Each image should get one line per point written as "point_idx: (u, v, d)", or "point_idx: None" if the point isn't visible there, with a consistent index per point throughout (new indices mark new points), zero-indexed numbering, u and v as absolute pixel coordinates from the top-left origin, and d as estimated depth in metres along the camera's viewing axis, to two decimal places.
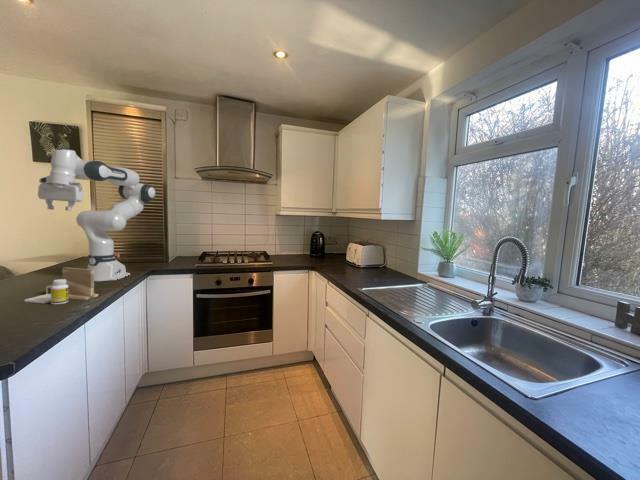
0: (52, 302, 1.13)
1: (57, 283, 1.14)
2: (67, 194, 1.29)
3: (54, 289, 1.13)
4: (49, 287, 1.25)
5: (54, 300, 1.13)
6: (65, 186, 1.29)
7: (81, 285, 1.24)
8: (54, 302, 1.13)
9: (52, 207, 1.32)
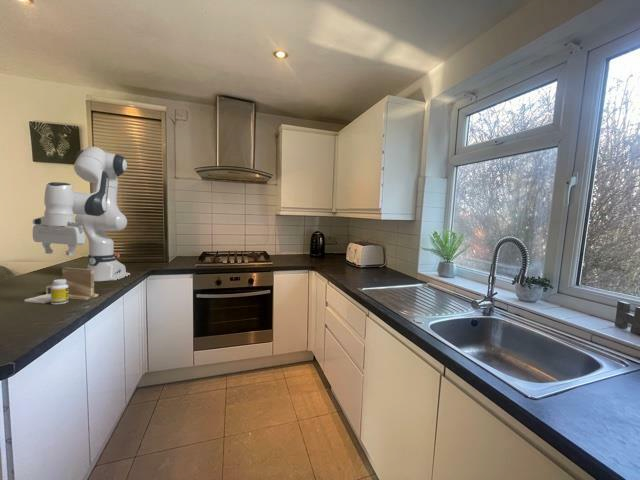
0: (52, 302, 1.13)
1: (57, 283, 1.14)
2: (66, 237, 1.11)
3: (54, 289, 1.13)
4: (49, 287, 1.25)
5: (54, 300, 1.13)
6: (63, 228, 1.11)
7: (81, 285, 1.24)
8: (54, 302, 1.13)
9: (50, 251, 1.15)
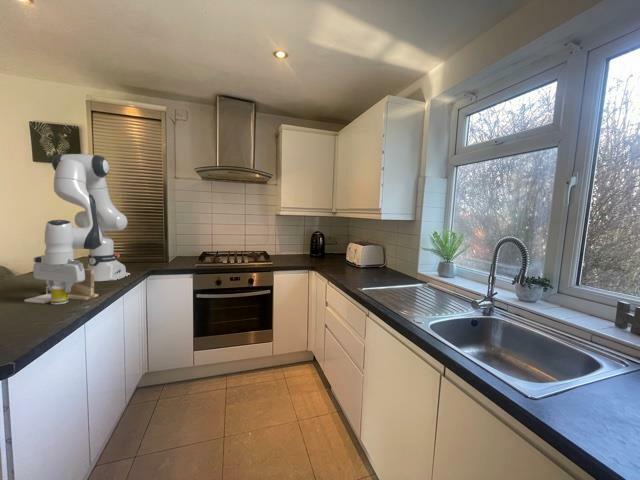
0: (52, 302, 1.13)
1: (57, 283, 1.14)
2: (67, 275, 1.13)
3: (54, 289, 1.13)
4: None
5: (54, 300, 1.13)
6: (63, 266, 1.13)
7: (81, 285, 1.24)
8: (54, 302, 1.13)
9: None
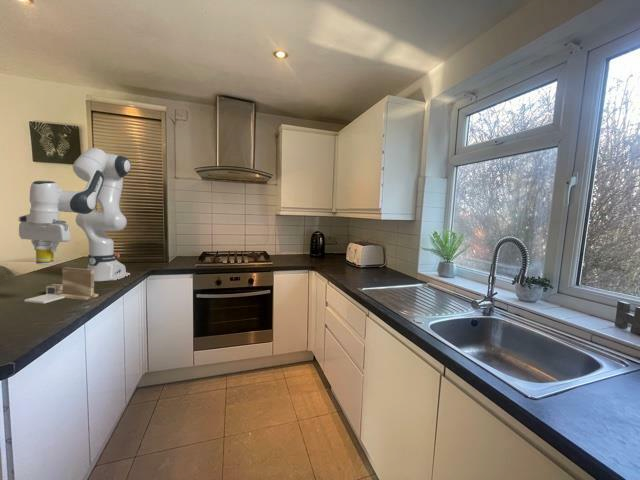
0: (37, 262, 1.15)
1: (42, 243, 1.15)
2: (52, 234, 1.14)
3: (38, 249, 1.14)
4: (49, 287, 1.25)
5: (38, 260, 1.14)
6: (48, 225, 1.14)
7: (81, 285, 1.24)
8: (39, 262, 1.15)
9: None
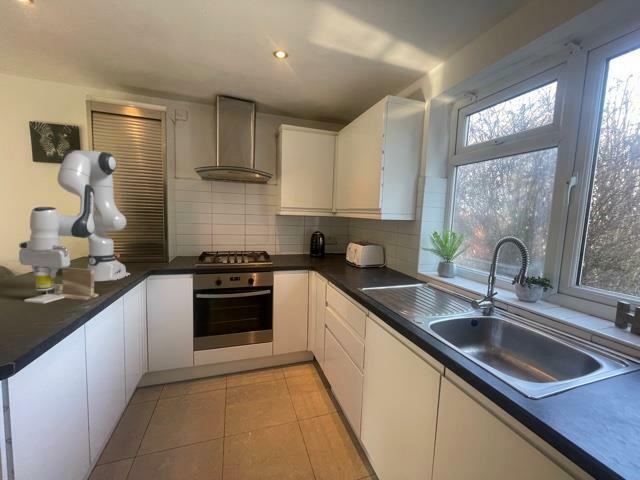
0: (36, 288, 1.15)
1: (42, 269, 1.16)
2: (52, 260, 1.15)
3: (38, 275, 1.15)
4: None
5: (38, 286, 1.15)
6: (49, 251, 1.15)
7: (81, 285, 1.24)
8: (39, 288, 1.15)
9: None
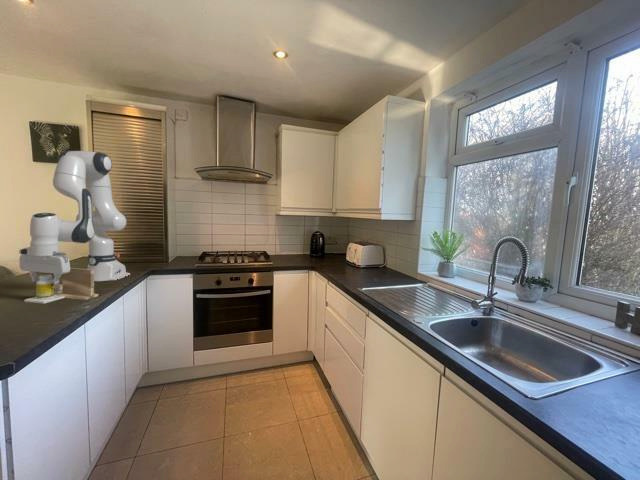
0: (37, 297, 1.16)
1: (42, 278, 1.16)
2: (52, 266, 1.15)
3: (39, 284, 1.15)
4: None
5: (39, 295, 1.16)
6: (49, 257, 1.15)
7: (81, 285, 1.24)
8: (39, 297, 1.16)
9: (37, 279, 1.19)
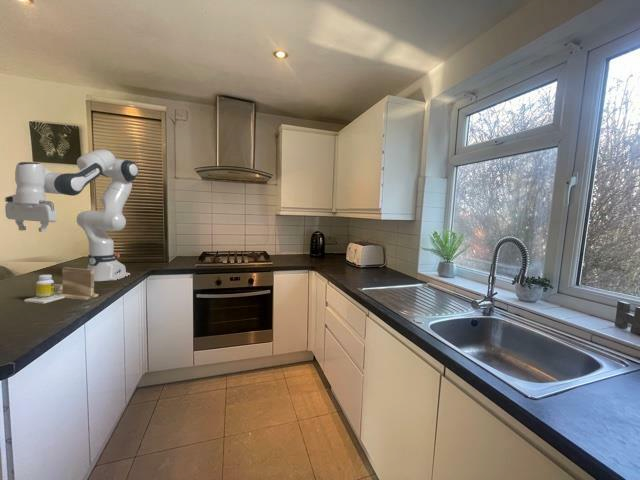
0: (37, 297, 1.16)
1: (42, 278, 1.16)
2: (38, 214, 1.17)
3: (39, 284, 1.15)
4: None
5: (39, 295, 1.16)
6: (35, 205, 1.17)
7: (81, 285, 1.24)
8: (39, 297, 1.16)
9: (24, 228, 1.20)
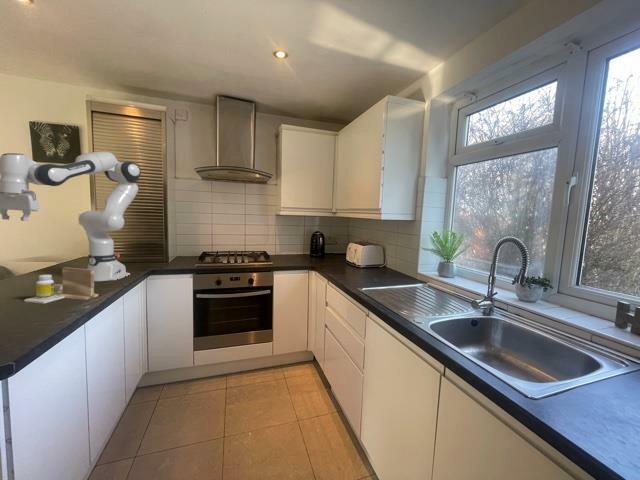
0: (37, 297, 1.16)
1: (42, 278, 1.16)
2: (20, 203, 1.21)
3: (39, 284, 1.15)
4: None
5: (39, 295, 1.16)
6: (17, 195, 1.21)
7: (81, 285, 1.24)
8: (39, 297, 1.16)
9: (7, 217, 1.24)
